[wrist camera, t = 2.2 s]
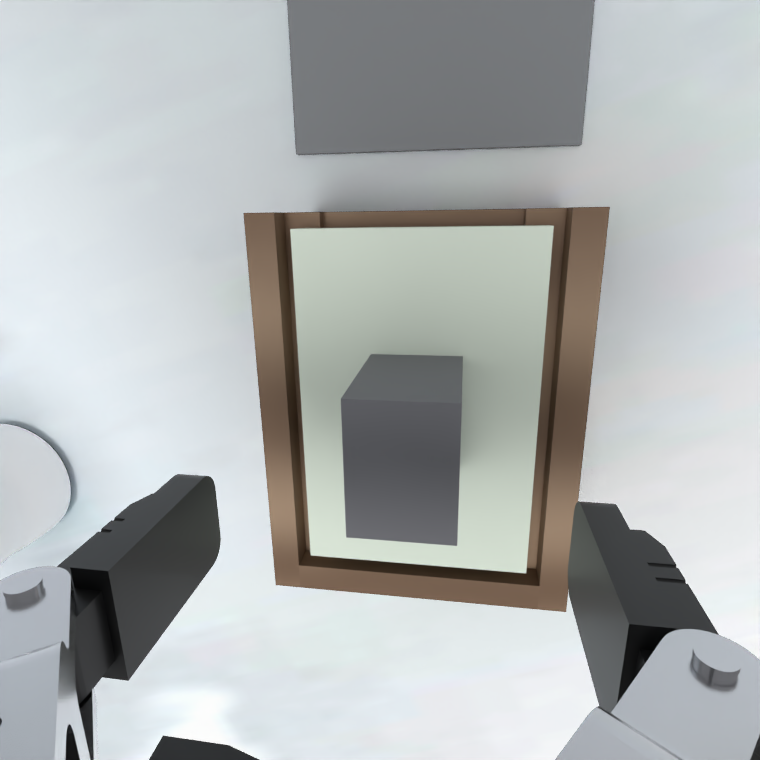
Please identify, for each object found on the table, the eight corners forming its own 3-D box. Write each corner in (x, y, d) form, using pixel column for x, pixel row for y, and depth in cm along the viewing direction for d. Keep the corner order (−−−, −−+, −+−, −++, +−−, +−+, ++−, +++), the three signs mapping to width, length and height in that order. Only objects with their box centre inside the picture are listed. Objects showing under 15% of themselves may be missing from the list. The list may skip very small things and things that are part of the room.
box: (312, 213, 24) (243, 213, 17) (561, 209, 23) (609, 206, 15) (326, 486, 28) (275, 584, 21) (537, 499, 27) (565, 611, 19)
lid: (299, 228, 18) (230, 233, 12) (548, 225, 16) (586, 230, 11) (317, 540, 21) (269, 645, 16) (523, 556, 20) (543, 676, 15)
